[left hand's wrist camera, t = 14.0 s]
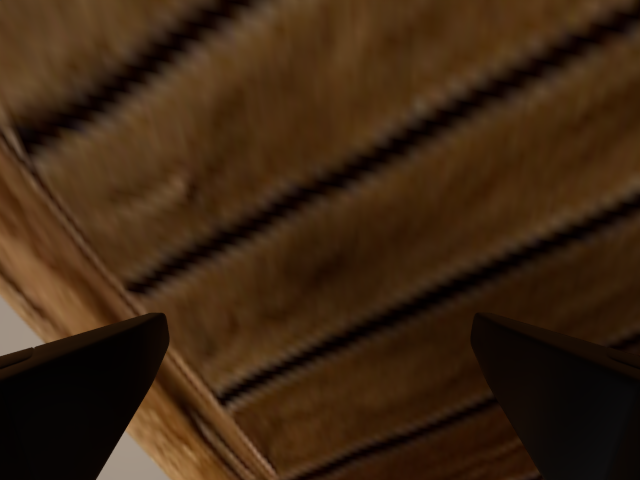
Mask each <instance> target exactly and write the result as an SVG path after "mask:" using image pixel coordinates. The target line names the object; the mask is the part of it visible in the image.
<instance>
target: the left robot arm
mask: <svg viewBox="0 0 640 480" xmlns="http://www.w3.org/2000/svg"><path fill="white" fill-rule="evenodd" d="M168 346H169V331H168V325H167V319H166V316H165V314H164V313H148V314H145V315H142V316H138V317H135V318H131V319H128V320H125V321H121V322H118V323H114V324H111V325H108V326H104V327H101V328H97V329H94V330H91V331H87V332H84V333H80V334H77V335H74V336H70V337H67V338H63V339H60V340H57V341H53V342H50V343H46V344H43V345H40V346H36V347H35V348H32V347H31V348H28V349H24V350H21V351H17V352H14V353H10V354H7V355H3V356H0V480H96V479H97V477H98V475H99V474H100V472H101V470H102V468H103V467H104V465H105V463H106V462H107V460H108V458H109V457H110V455H111V453H112V451H113V450H114V448H115V446H116V445H117V443H118V441H119V440H120V438H121V436H122V434H123V433H124V431H125V429H126V428H127V426H128V424H129V423H130V421H131V419H132V418H133V416H134V414H135V412H136V411H137V409H138V407H139V406H140V404H141V402H142V401H143V399H144V397H145V395H146V394H147V392H148V390H149V389H150V387H151V385H152V383H153V381H154V379H155V377H156V374H157V372H158V370H159V367H160V365H161V363H162V360H163V358H164V356H165V353H166V351H167V349H168ZM471 346H472V349H473V351H474V353H475V356H476V358H477V360H478V363H479V365H480V367H481V370H482V372H483V374H484V377H485V379H486V381H487V383H488V385H489V387H490V389H491V390H492V392H493V394H494V395H495V397H496V399H497V401H498V402H499V404H500V406H501V407H502V409H503V411H504V412H505V414H506V416H507V418H508V419H509V421H510V423H511V424H512V426H513V428H514V429H515V431H516V433H517V435H518V436H519V438H520V440H521V441H522V443H523V445H524V446H525V448H526V450H527V452H528V453H529V455H530V457H531V458H532V460H533V462H534V463H535V465H536V467H537V469H538V470H539V472H540V474H541V475H542V477H543V479H544V480H640V356H637V355H633V354H630V353H626V352H623V351H619V350H616V349H612V348H609V347H607V348H605V347H604V346H600V345H597V344H594V343H590V342H587V341H583V340H580V339H577V338H573V337H570V336H566V335H563V334H560V333H556V332H553V331H549V330H546V329H543V328H539V327H536V326H532V325H529V324H526V323H522V322H519V321H515V320H512V319H509V318H505V317H502V316H498V315H495V314H492V313H476V314H475V316H474V319H473V325H472V331H471Z"/></svg>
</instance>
